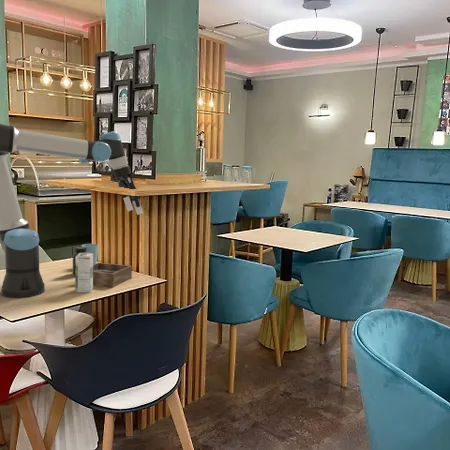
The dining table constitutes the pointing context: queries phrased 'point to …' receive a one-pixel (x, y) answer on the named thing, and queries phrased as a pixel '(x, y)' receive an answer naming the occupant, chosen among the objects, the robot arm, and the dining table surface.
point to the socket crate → (110, 274)
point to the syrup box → (84, 272)
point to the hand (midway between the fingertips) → (135, 212)
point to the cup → (92, 251)
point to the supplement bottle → (77, 250)
